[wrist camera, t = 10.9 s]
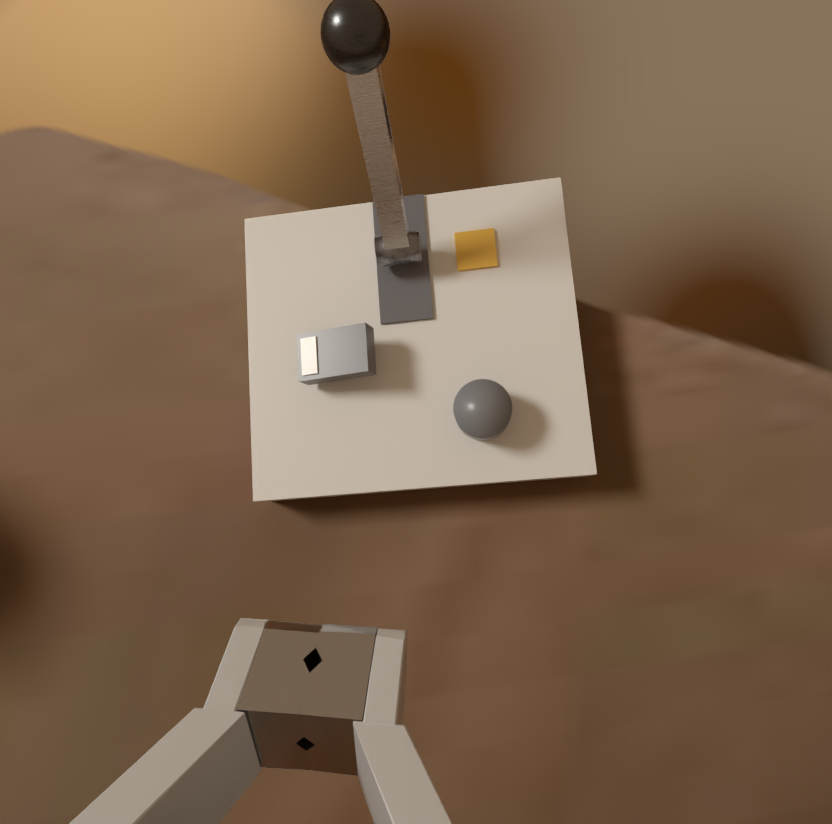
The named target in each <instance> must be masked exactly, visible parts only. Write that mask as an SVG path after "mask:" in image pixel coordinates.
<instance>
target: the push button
mask: <svg viewBox="0 0 832 824" xmlns="http://www.w3.org/2000/svg"><path fill="white" fill-rule="evenodd" d="M453 412H454V416H455V419H456V422H457V424H458V426H459V428H460V429H461V431H462V432H463V433H464V434H466V435H467V436H469V437H470V438H473V439H476V440H490V439H493V438H495V437H497V436H499V435H500V434H501V433H503V431H504V430H505V429H506V428H507V426H508V424H509V422H510V418H511V415H512V401H511V398H510V396H509V394H508V392H507V391H506V389H505V388H504V387H503V386H502V385H500V384H499V383H497V382H495V381H492V380H488V379H478V380H474V381H471V382H469V383H467V384H465V385H464V386H463V387H462V388H461V389H460V390H459V392H458V393H457V395H456V397H455V400H454V404H453Z"/></svg>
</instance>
